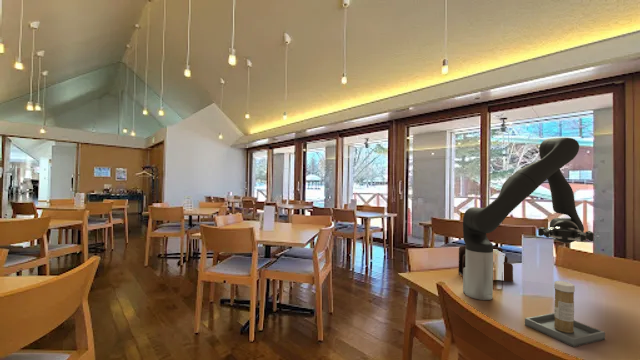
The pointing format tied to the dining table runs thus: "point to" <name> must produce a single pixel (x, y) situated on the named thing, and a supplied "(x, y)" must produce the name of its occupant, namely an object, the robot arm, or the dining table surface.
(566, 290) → the sprinkles bottle
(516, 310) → the dining table surface
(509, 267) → the letter holder
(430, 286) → the dining table surface
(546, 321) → the condiment tray
